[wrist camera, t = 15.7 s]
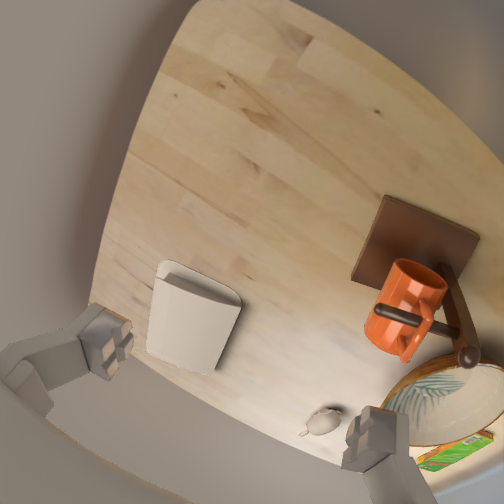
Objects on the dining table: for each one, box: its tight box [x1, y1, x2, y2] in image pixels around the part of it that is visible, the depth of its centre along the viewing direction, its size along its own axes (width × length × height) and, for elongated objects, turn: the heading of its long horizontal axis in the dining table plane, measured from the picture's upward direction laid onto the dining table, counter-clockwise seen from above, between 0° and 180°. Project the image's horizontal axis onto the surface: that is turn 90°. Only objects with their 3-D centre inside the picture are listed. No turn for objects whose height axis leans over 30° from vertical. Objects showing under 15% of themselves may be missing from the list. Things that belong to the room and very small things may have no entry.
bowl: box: [380, 354, 504, 447], centre depth 43 cm, size 25×25×8 cm
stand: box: [351, 195, 481, 369], centre depth 30 cm, size 12×14×18 cm
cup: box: [364, 258, 448, 363], centre depth 30 cm, size 10×7×8 cm
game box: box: [417, 430, 493, 472], centre depth 55 cm, size 3×10×20 cm
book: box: [145, 260, 242, 376], centre depth 54 cm, size 15×23×4 cm, turn 161°
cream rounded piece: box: [299, 408, 342, 436], centre depth 58 cm, size 6×5×12 cm
